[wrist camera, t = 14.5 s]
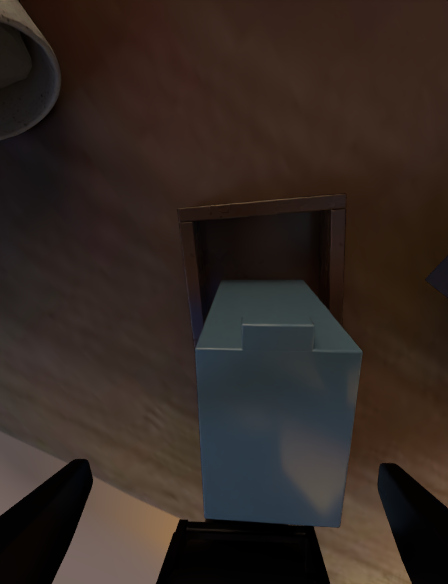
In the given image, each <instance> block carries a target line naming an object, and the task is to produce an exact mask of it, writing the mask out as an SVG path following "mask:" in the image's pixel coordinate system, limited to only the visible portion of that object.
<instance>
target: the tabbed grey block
mask: <svg viewBox="0 0 448 584" xmlns="http://www.w3.org/2000/svg"><path fill="white" fill-rule="evenodd" d="M362 355H363V351H362V350H361V349H360V347H359V346H358V345H357V344H356V343H355V341H354V340H353V339H352V338H351V337H350V335H349V334H348V333H347V332H346V330H345V329H344V328H343V327H342V326H341V324H340V323H339V322H338V321H337V320H336V318H335V317H334V316H333V315H332V314H331V312H330V311H329V310H328V309H327V308H326V306H325V305H324V304H323V303H322V302H321V300H320V299H319V298H318V297H317V296H316V294H315V293H314V292H313V291H312V289H311V288H310V287H309V286H308V285H307V283H306V282H305V281H304V280H221V281H220V284H219V286H218V289H217V292H216V294H215V297H214V300H213V302H212V305H211V308H210V310H209V313H208V316H207V318H206V321H205V324H204V326H203V329H202V332H201V334H200V337H199V340H198V342H197V345H196V348H195V361H196V379H197V397H198V415H199V433H200V451H201V469H202V487H203V504H204V518H205V519H217V520H232V521H247V522H261V523H276V524H291V525H305V526H320V527H335V528H339V527H340V524H341V516H342V508H343V501H344V493H345V485H346V478H347V470H348V462H349V455H350V447H351V439H352V432H353V424H354V417H355V409H356V401H357V394H358V386H359V378H360V371H361V363H362Z"/></svg>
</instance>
